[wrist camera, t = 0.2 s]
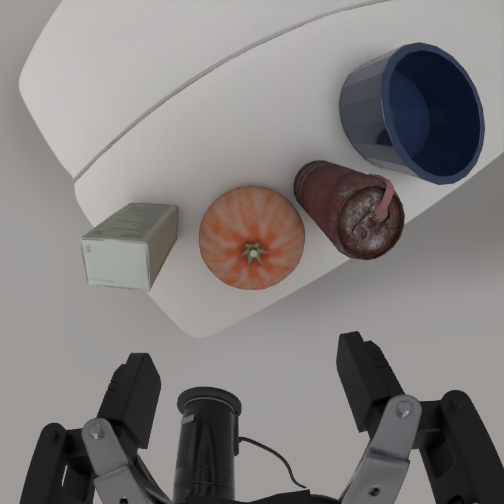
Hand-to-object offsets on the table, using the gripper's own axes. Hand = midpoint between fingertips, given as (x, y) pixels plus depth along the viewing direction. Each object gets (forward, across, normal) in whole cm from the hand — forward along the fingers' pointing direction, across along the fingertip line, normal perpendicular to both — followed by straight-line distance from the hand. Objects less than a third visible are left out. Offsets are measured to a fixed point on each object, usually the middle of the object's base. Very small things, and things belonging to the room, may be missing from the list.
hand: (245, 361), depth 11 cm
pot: (+22, +19, +11) cm, 31 cm away
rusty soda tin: (+22, +9, +2) cm, 24 cm away
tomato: (+22, +1, -2) cm, 22 cm away
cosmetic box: (+22, -10, +1) cm, 25 cm away
